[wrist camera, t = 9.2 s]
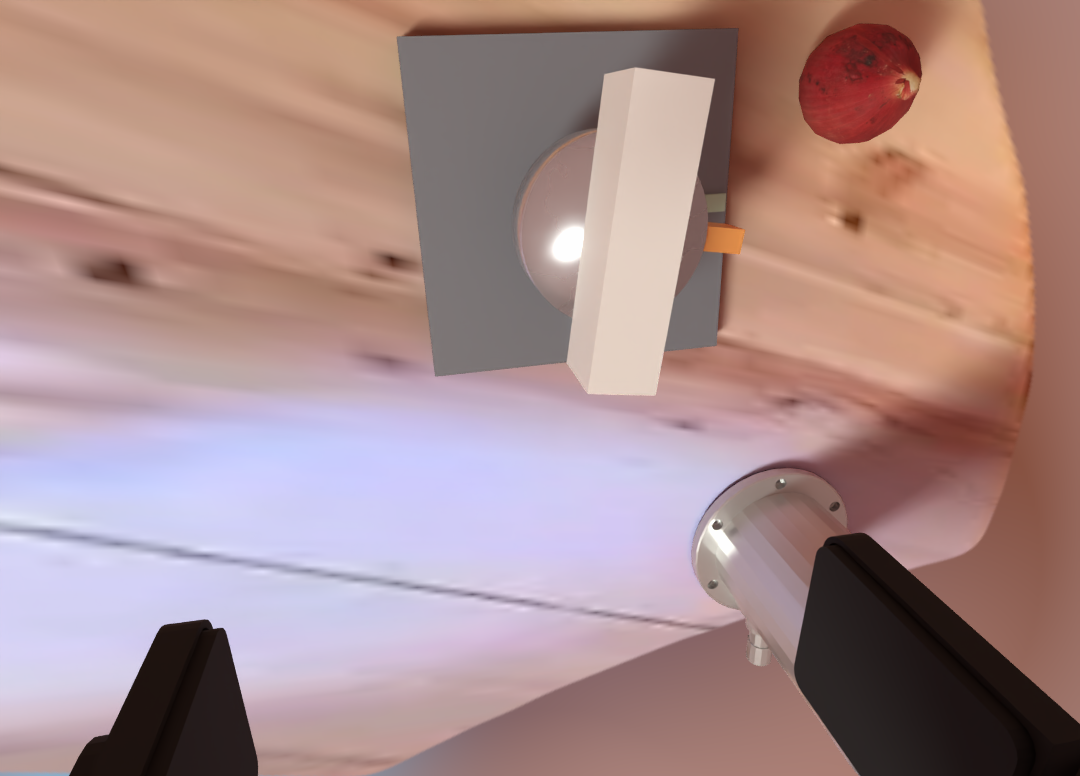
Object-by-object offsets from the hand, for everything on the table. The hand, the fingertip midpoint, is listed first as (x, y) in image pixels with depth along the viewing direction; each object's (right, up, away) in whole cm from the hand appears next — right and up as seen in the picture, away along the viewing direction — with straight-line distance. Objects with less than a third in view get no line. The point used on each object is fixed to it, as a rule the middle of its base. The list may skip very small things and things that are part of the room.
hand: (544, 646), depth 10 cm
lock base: (+2, +15, +28) cm, 32 cm away
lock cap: (+4, +12, +23) cm, 26 cm away
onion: (+16, +22, +28) cm, 39 cm away
